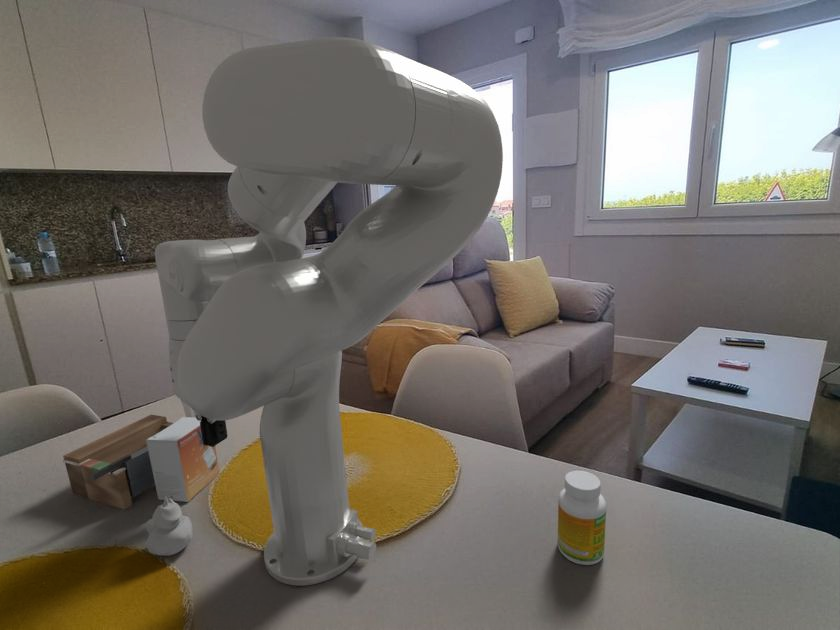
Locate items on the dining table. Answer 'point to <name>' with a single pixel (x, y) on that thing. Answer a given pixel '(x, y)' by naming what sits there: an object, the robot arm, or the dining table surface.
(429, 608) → the dining table surface
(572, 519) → the supplement bottle
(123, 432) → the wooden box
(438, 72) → the robot arm
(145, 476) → the pad
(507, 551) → the dining table surface
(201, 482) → the small box
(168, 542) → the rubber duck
